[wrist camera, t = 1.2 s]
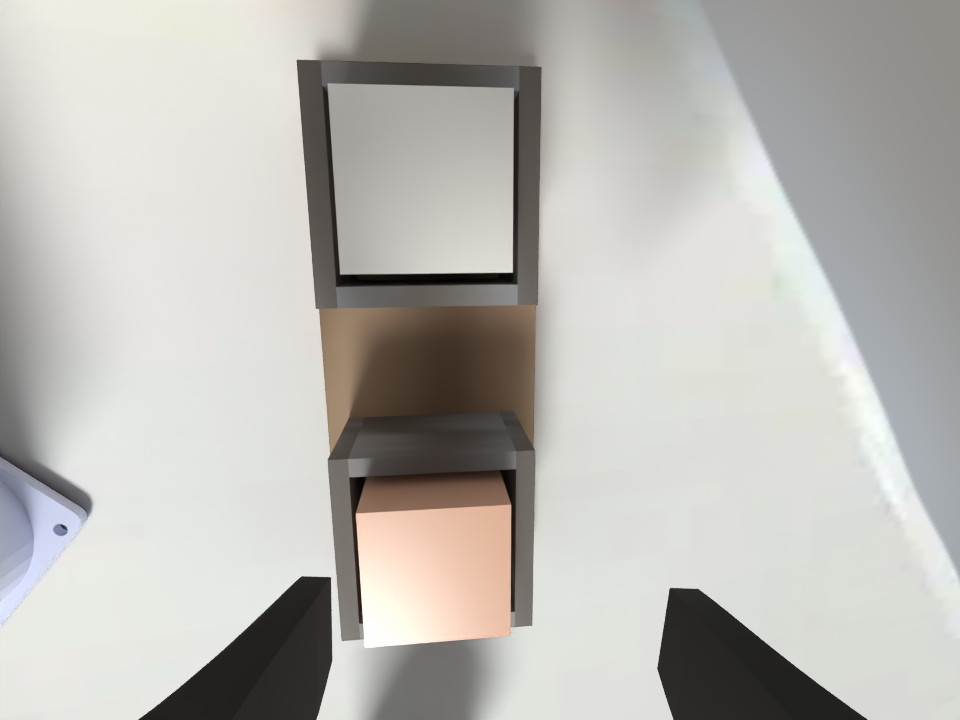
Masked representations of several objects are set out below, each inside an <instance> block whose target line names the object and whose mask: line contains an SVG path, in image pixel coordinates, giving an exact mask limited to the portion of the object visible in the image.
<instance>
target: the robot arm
mask: <svg viewBox="0 0 960 720" xmlns="http://www.w3.org/2000/svg"><path fill="white" fill-rule="evenodd" d="M86 521H87V514H86V512H85V510H83V509H82V508H81V507H80V506H78V505H76V504H75V503H73V502H72V501H70V500H68V499H67V498H65V497H64V496H62V495H60V494H59V493H57V492H56V491H54V490H52V489H51V488H49V487H47V486H46V485H44V484H43V483H41V482H39V481H38V480H36V479H35V478H33V477H31V476H30V475H28V474H27V473H25V472H23V471H22V470H20V469H19V468H17V467H15V466H14V465H12V464H11V463H9V462H7V461H6V460H4V459H3V458H1V457H0V627H1V626H2V624H3V623H4V622H5V621H6V619H7V618H8V617H9V616H10V615H11V613H12V612H13V611H14V610H15V609H16V607H17V606H18V605H19V604H20V602H21V601H22V600H23V599H24V598H25V596H26V595H27V594H28V593H29V591H30V590H31V589H32V588H33V587H34V585H35V584H36V583H37V582H38V580H39V579H40V578H41V577H42V576H43V574H44V573H45V572H46V571H47V569H48V568H49V567H50V566H51V565H52V563H53V562H54V561H55V560H56V559H57V557H58V556H59V555H60V554H61V552H62V551H63V550H64V549H65V548H66V546H67V545H68V544H69V543H70V541H71V540H72V539H73V538H74V537H75V535H76V534H77V533H78V532H79V530H80V529H81V528H82V527H83V526H84V524H85V523H86ZM61 524H63V525H65V526H66V527H67V530H68V531H67V530H64V529H63V528H62V527H61ZM331 663H332V618H331V577H303V576H302V577H300V578H299V579H298V580H297V581H296V582H295V583H294V584H293V585H292V586H291V587H290V588H288V589H287V590H286V591H285V592H284V593H283V594H282V595H281V596H280V597H279V598H278V599H277V600H276V601H275V602H274V603H273V604H272V605H271V606H270V607H269V608H268V609H267V610H266V611H265V612H264V613H263V614H262V615H261V616H259V617H258V618H257V619H256V620H255V621H254V622H253V623H252V624H251V625H250V626H249V627H248V628H247V629H246V630H245V631H243V632H242V633H241V634H240V635H239V636H238V637H237V638H236V639H235V640H234V641H233V642H232V643H230V644H229V645H228V646H227V647H226V648H225V649H224V650H223V651H222V652H221V653H219V654H218V655H217V656H216V657H215V658H214V659H213V660H211V661H210V662H209V663H208V664H207V665H206V666H204V667H203V668H202V669H201V670H200V671H198V672H197V673H196V674H195V675H194V676H193V677H191V678H190V679H189V680H188V681H187V682H186V683H184V684H183V685H182V686H181V687H180V688H178V689H177V690H176V691H175V692H174V693H172V694H171V695H170V696H169V697H167V698H166V699H165V700H164V701H162V702H161V703H160V704H159V705H157V706H156V707H155V708H153V709H152V710H151V711H149V712H148V713H147V714H145V715H144V716H143V717H141V718H140V719H139V720H316V719H317V716H318V713H319V709H320V706H321V702H322V698H323V694H324V691H325V687H326V683H327V679H328V675H329V671H330V667H331ZM657 669H658V672H659V676H660V679H661V682H662V685H663V689H664V692H665V695H666V698H667V701H668V704H669V707H670V710H671V713H672V716H673V719H674V720H867V719H866V718H864V717H863V716H862V715H860V714H859V713H857V712H856V711H855V710H853V709H852V708H850V707H849V706H848V705H846V704H845V703H844V702H842V701H841V700H839V699H838V698H837V697H835V696H834V695H833V694H831V693H830V692H829V691H827V690H826V689H824V688H823V687H822V686H820V685H819V684H818V683H816V682H815V681H814V680H812V679H811V678H810V677H808V676H807V675H806V674H805V673H803V672H802V671H801V670H799V669H798V668H797V667H795V666H794V665H793V664H792V663H790V662H789V661H788V660H787V659H785V658H784V657H783V656H781V655H780V654H779V653H778V652H776V651H775V650H774V649H773V648H771V647H770V646H769V645H768V644H766V643H765V642H764V641H763V640H761V639H760V638H759V637H758V636H757V635H755V634H754V633H753V632H752V631H750V630H749V629H748V628H747V627H745V626H744V625H743V624H742V623H741V622H739V621H738V620H737V619H736V618H734V617H733V616H732V615H731V614H730V613H728V612H727V611H726V610H725V609H723V608H722V607H721V606H720V605H718V604H717V603H716V602H715V601H713V600H712V599H711V598H709V597H708V596H707V595H706V594H704V593H703V592H701V591H700V590H699V589H682V588H670V590H669V597H668V603H667V610H666V616H665V623H664V629H663V636H662V642H661V649H660V655H659V662H658V668H657Z"/></svg>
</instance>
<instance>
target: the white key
mask: <svg viewBox="0 0 960 720" xmlns="http://www.w3.org/2000/svg"><path fill="white" fill-rule="evenodd" d="M328 98H329V113H330V128H331V144H332V159H333V174H334V189H335V204H336V219H337V234H338V249H339V264H340V274H428V273H513V139H514V88H495V87H455V86H415V85H375V84H334V83H328Z"/></svg>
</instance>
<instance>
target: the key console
mask: <svg viewBox="0 0 960 720" xmlns="http://www.w3.org/2000/svg"><path fill="white" fill-rule="evenodd" d="M297 71H298V84H299V96H300V109H301V122H302V135H303V148H304V161H305V174H306V187H307V200H308V212H309V225H310V238H311V251H312V264H313V277H314V290H315V303H316V309H319V313H320V326H321V339H322V352H323V365H324V378H325V391H326V404H327V417H328V431H329V444H330V457H329V459H328V470H329V483H330V496H331V509H332V522H333V535H334V548H335V560H336V573H337V586H338V599H339V612H340V625H341V638H342V641H348V640H360V639H364V628H363V613H362V598H361V583H360V568H359V553H358V538H357V523H356V511H357V508H358V505H359V501H360V498H361V494H362V491H363V487H364V484H365V480H366V477H368V476H388V475H408V474H428V473H448V472H468V471H488V470H500V472H501V475H502V478H503V481H504V484H505V487H506V490H507V493H508V496H509V500H510V503H511V623H510V627H521V626H532V606H533V545H534V485H535V449H534V448H533V437H534V374H535V310H536V305H537V303H538V243H539V182H540V122H541V67H525V66H491V65H457V64H422V63H388V62H354V61H319V60H297ZM328 83H334V84H375V85H415V86H455V87H495V88H514V139H513V273H428V274H340V264H339V249H338V234H337V219H336V204H335V189H334V174H333V159H332V144H331V128H330V113H329V98H328Z"/></svg>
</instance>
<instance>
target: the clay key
mask: <svg viewBox="0 0 960 720" xmlns="http://www.w3.org/2000/svg"><path fill="white" fill-rule="evenodd" d="M356 523H357V538H358V553H359V568H360V583H361V598H362V613H363V628H364V643H365V648H370V647H382V646H394V645H406V644H418V643H430V642H443V641H455V640H467V639H479V638H491V637H503V636H510V623H511V503H510V500H509V496H508V493H507V490H506V487H505V484H504V481H503V478H502V475H501V472H500V470H488V471H468V472H448V473H428V474H408V475H388V476H368V477H366V480H365V484H364V487H363V491H362V494H361V498H360V501H359V505H358V508H357V511H356Z"/></svg>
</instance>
